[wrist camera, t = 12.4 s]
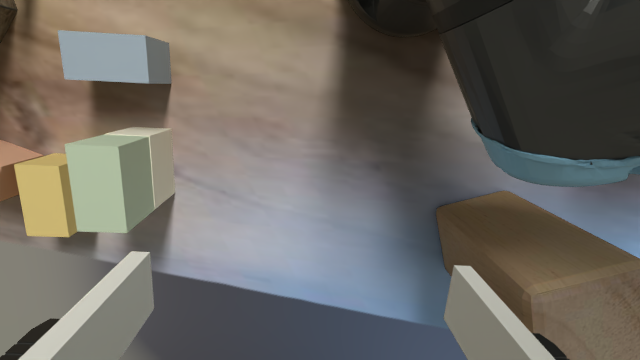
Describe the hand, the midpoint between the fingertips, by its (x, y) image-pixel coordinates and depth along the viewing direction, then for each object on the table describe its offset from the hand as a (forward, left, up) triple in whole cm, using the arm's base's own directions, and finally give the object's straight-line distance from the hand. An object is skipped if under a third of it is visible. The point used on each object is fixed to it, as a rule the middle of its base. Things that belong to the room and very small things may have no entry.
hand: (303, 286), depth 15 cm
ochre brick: (+5, -28, -29) cm, 40 cm away
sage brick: (+2, -18, -23) cm, 29 cm away
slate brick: (-10, -20, -29) cm, 36 cm away
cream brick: (+1, -18, -29) cm, 34 cm away
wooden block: (+9, +23, -29) cm, 38 cm away
